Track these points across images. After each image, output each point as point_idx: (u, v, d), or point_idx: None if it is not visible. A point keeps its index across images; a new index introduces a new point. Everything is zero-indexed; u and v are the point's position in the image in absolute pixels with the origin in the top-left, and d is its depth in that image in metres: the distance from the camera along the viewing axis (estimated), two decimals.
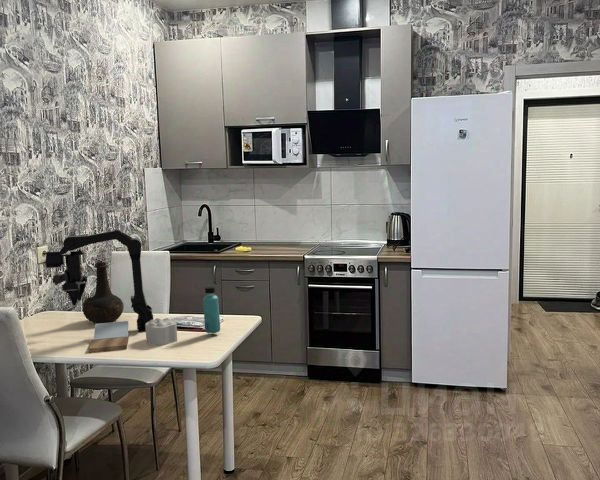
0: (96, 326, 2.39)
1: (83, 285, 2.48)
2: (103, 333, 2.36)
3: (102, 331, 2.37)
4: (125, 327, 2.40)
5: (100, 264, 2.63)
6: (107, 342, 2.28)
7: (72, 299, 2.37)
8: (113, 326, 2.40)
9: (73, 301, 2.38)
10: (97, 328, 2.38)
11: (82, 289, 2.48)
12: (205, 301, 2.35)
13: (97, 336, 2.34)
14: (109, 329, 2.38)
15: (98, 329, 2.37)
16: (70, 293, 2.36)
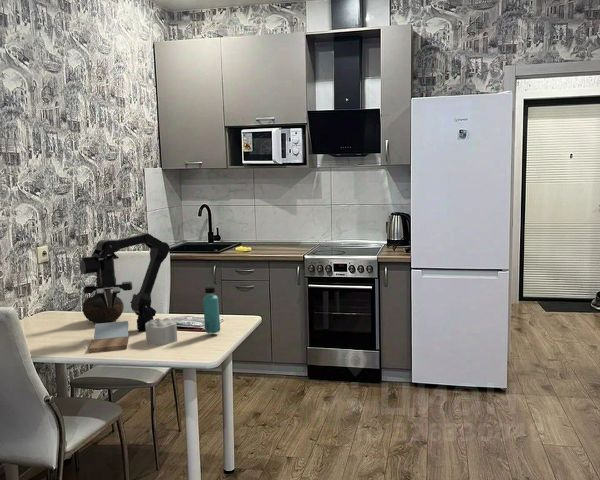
0: (96, 326, 2.39)
1: (112, 293, 2.37)
2: (103, 333, 2.36)
3: (102, 331, 2.37)
4: (125, 327, 2.40)
5: None
6: (107, 342, 2.28)
7: None
8: (113, 326, 2.40)
9: (105, 304, 2.39)
10: (97, 328, 2.38)
11: (112, 297, 2.37)
12: (205, 301, 2.35)
13: (97, 336, 2.34)
14: (109, 329, 2.38)
15: (98, 329, 2.37)
16: None
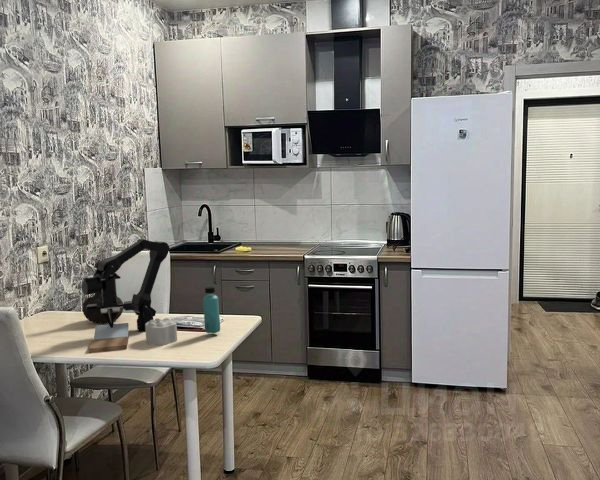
0: (96, 328, 2.40)
1: None
2: (103, 334, 2.36)
3: (102, 332, 2.37)
4: (125, 328, 2.40)
5: None
6: (107, 342, 2.28)
7: None
8: (113, 327, 2.40)
9: (109, 323, 2.40)
10: (98, 329, 2.39)
11: None
12: (205, 301, 2.35)
13: (97, 336, 2.34)
14: (109, 330, 2.38)
15: (98, 331, 2.38)
16: None
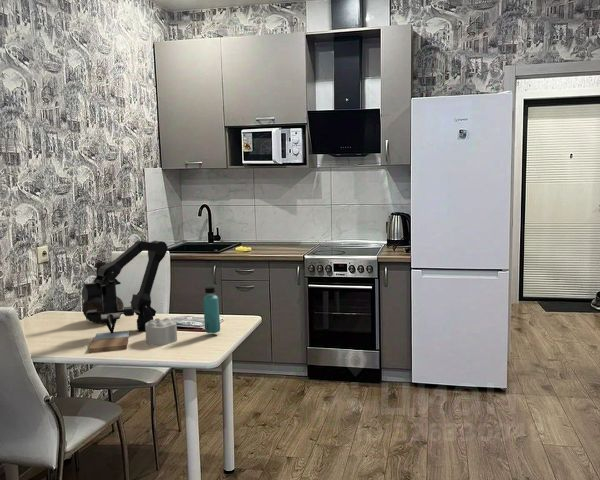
0: (97, 334, 2.40)
1: (112, 319, 2.38)
2: (103, 336, 2.36)
3: (102, 336, 2.38)
4: (125, 333, 2.40)
5: (100, 264, 2.63)
6: (107, 342, 2.28)
7: None
8: (114, 333, 2.41)
9: None
10: (98, 335, 2.39)
11: (112, 323, 2.38)
12: (205, 301, 2.35)
13: (97, 338, 2.34)
14: (109, 335, 2.39)
15: (98, 335, 2.38)
16: None
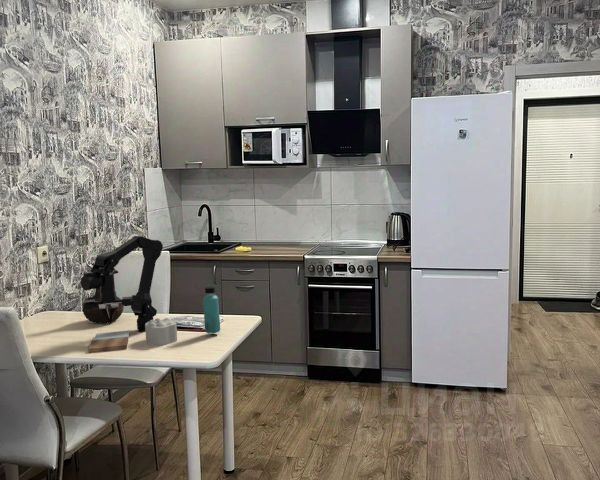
0: (97, 334, 2.40)
1: (110, 309, 2.33)
2: (103, 336, 2.36)
3: (102, 336, 2.38)
4: (125, 333, 2.40)
5: None
6: (107, 342, 2.28)
7: None
8: (114, 333, 2.41)
9: None
10: (98, 335, 2.39)
11: (110, 313, 2.33)
12: (205, 301, 2.35)
13: (97, 338, 2.34)
14: (109, 335, 2.39)
15: (98, 335, 2.38)
16: None
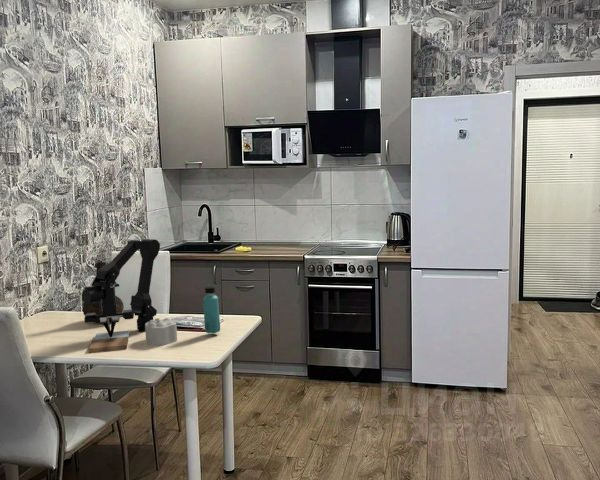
0: (97, 334, 2.40)
1: (111, 322, 2.33)
2: (103, 336, 2.36)
3: (102, 336, 2.38)
4: (125, 333, 2.40)
5: (100, 264, 2.63)
6: (107, 342, 2.28)
7: None
8: (114, 333, 2.41)
9: None
10: (98, 335, 2.39)
11: (111, 326, 2.34)
12: (205, 301, 2.35)
13: (97, 338, 2.34)
14: None
15: (98, 335, 2.38)
16: None
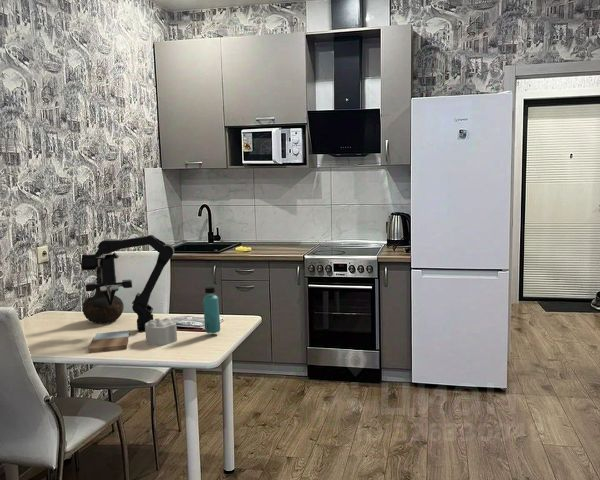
0: (97, 334, 2.40)
1: (111, 291, 2.45)
2: (103, 336, 2.36)
3: (102, 336, 2.38)
4: (125, 333, 2.40)
5: (100, 264, 2.63)
6: (107, 342, 2.28)
7: (107, 299, 2.48)
8: (114, 333, 2.41)
9: (108, 301, 2.48)
10: (98, 335, 2.39)
11: None
12: (205, 301, 2.35)
13: (97, 338, 2.34)
14: (109, 335, 2.39)
15: (98, 335, 2.38)
16: None
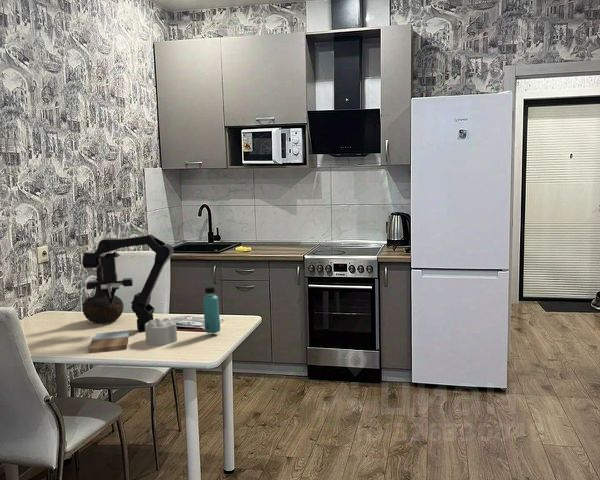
0: (97, 334, 2.40)
1: (111, 289, 2.48)
2: (103, 336, 2.36)
3: (102, 336, 2.38)
4: (125, 333, 2.40)
5: None
6: (107, 342, 2.28)
7: None
8: (114, 333, 2.41)
9: None
10: (98, 335, 2.39)
11: (111, 293, 2.49)
12: (205, 301, 2.35)
13: (97, 338, 2.34)
14: (109, 335, 2.39)
15: (98, 335, 2.38)
16: None
